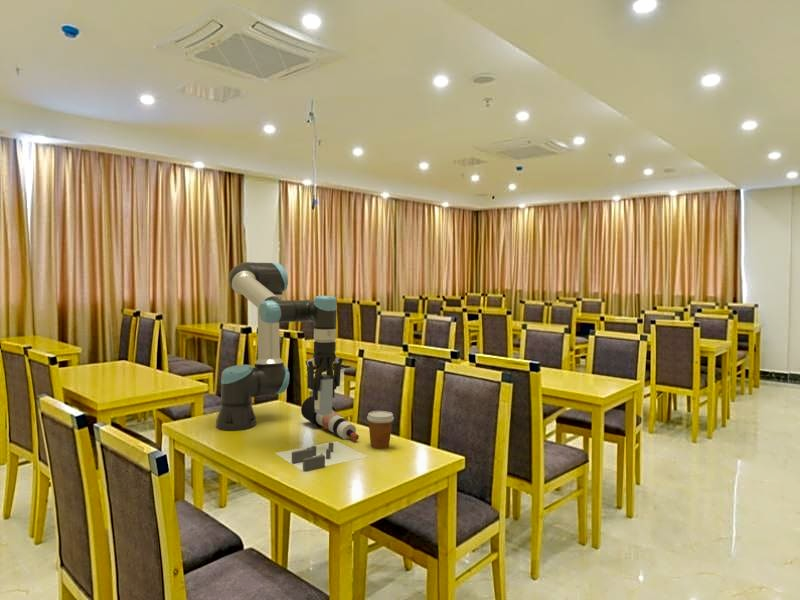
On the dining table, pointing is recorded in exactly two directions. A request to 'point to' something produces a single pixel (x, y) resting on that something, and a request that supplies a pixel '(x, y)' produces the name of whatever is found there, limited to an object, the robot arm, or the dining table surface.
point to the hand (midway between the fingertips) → (323, 408)
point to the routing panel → (320, 455)
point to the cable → (328, 420)
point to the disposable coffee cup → (380, 428)
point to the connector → (325, 395)
